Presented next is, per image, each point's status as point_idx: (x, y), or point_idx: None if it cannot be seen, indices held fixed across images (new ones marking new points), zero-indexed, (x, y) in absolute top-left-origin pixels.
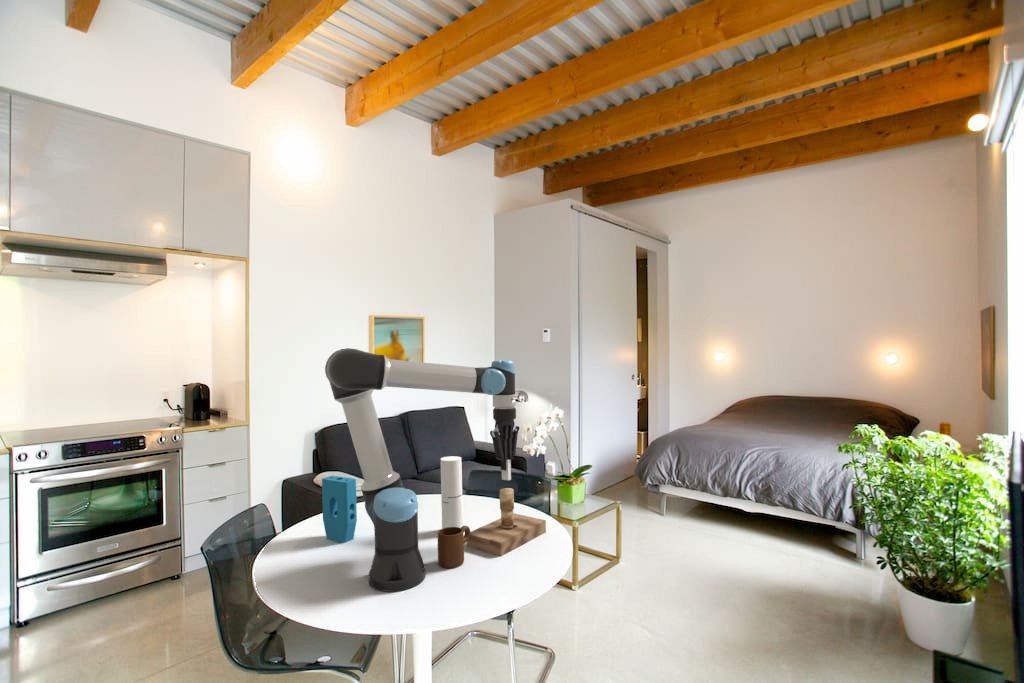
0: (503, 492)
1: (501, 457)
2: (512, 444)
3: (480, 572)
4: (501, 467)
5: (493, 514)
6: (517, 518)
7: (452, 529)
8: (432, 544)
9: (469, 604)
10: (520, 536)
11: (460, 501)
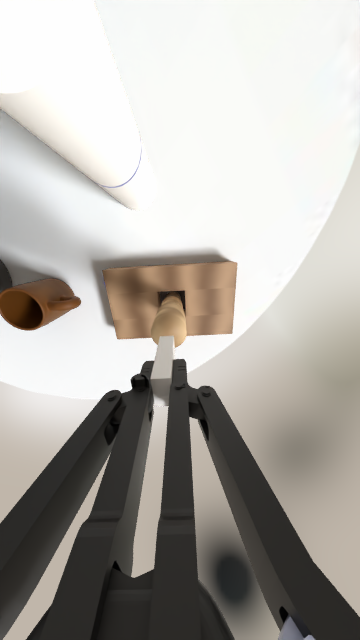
0: (152, 336)
1: (109, 424)
2: (217, 463)
3: (74, 341)
4: (142, 369)
5: (263, 179)
6: (215, 291)
7: (36, 296)
8: (70, 209)
9: (27, 376)
10: None
11: (122, 191)
